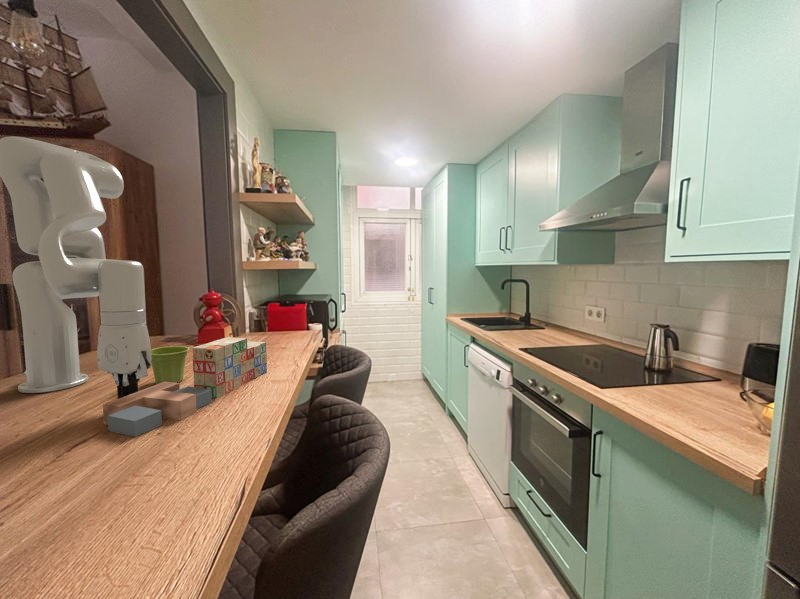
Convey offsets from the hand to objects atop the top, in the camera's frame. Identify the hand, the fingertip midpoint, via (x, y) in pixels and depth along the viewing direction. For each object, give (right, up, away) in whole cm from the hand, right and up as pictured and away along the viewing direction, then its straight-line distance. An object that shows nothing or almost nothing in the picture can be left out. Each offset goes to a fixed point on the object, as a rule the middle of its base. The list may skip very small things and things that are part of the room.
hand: (128, 401), depth 74 cm
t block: (+9, -2, -2) cm, 9 cm away
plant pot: (-3, 0, +18) cm, 18 cm away
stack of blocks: (+15, -1, +18) cm, 23 cm away
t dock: (+10, -2, -3) cm, 11 cm away
